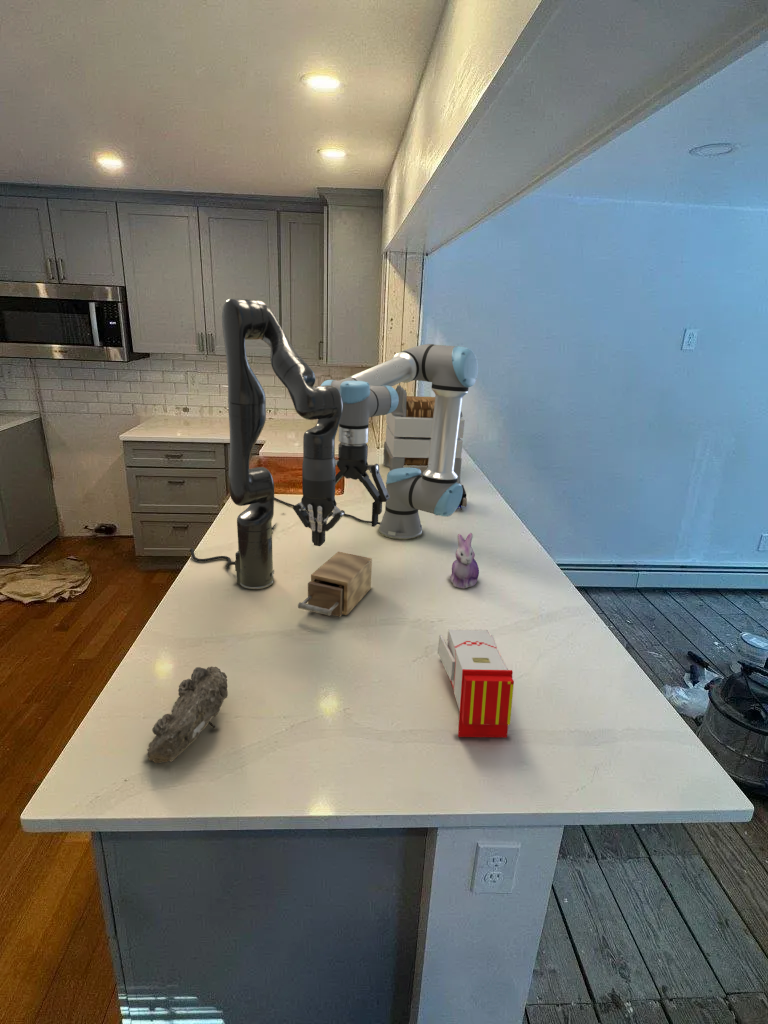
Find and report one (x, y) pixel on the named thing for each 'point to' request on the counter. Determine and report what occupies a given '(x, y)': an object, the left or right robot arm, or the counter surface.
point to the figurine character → (463, 499)
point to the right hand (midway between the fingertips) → (351, 521)
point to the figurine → (464, 564)
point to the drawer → (324, 598)
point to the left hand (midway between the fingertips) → (318, 544)
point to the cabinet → (347, 576)
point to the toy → (478, 682)
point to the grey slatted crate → (413, 433)
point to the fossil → (189, 713)
